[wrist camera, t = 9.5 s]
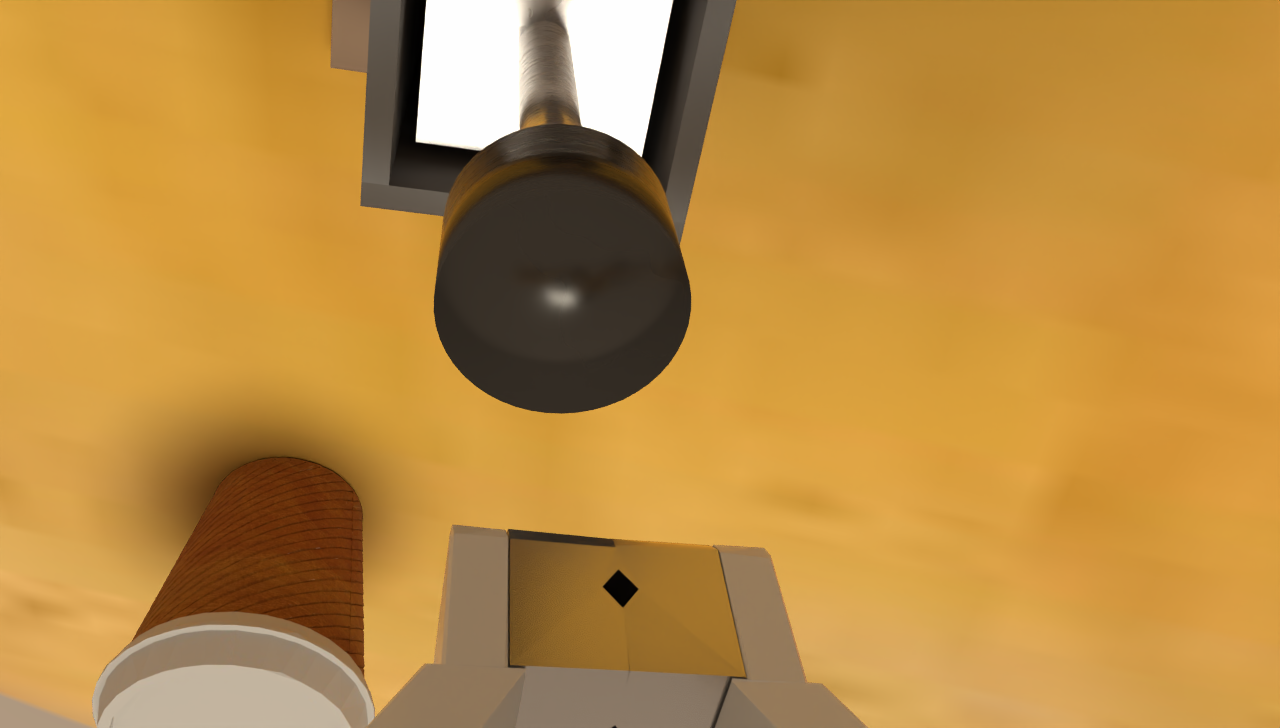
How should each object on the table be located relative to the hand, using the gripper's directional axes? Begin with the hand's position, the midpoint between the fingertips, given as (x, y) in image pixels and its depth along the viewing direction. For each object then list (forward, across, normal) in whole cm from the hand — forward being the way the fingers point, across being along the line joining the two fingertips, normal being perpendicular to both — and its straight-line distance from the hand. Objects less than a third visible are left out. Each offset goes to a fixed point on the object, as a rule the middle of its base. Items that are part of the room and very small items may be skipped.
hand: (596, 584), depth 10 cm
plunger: (+18, 0, 0) cm, 18 cm away
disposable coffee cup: (+29, +7, +26) cm, 40 cm away
